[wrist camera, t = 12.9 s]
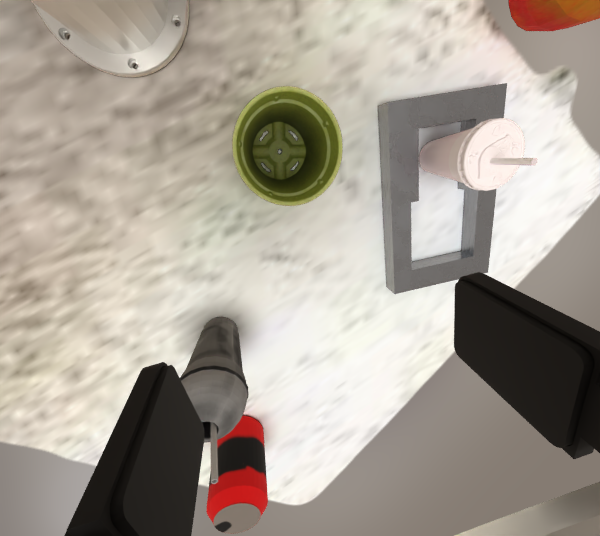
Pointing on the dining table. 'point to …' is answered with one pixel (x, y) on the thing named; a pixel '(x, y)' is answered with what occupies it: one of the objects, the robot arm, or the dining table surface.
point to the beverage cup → (217, 383)
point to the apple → (553, 13)
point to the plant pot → (287, 146)
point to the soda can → (239, 479)
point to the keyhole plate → (405, 186)
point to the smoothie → (478, 154)
